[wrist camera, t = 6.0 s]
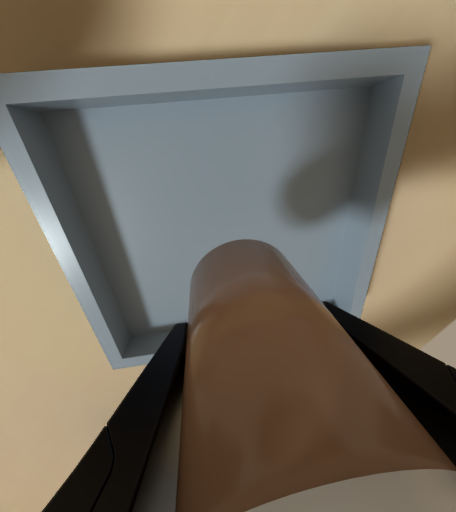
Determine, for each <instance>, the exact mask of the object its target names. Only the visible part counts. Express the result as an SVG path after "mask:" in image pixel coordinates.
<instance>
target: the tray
mask: <svg viewBox="0 0 456 512" xmlns="http://www.w3.org/2000/svg"><path fill="white" fill-rule="evenodd" d="M430 48H431V45H425V46H409V47H394V48H379V49H364V50H349V51H333V52H318V53H303V54H288V55H273V56H258V57H242V58H227V59H212V60H197V61H182V62H166V63H151V64H136V65H121V66H106V67H91V68H75V69H60V70H45V71H30V72H15V73H0V147H1V149H2V151H3V153H4V155H5V157H6V159H7V161H8V163H9V165H10V167H11V169H12V171H13V173H14V175H15V177H16V179H17V181H18V183H19V185H20V187H21V189H22V191H23V193H24V194H25V196H26V198H27V200H28V202H29V204H30V206H31V208H32V210H33V212H34V214H35V216H36V218H37V220H38V222H39V224H40V226H41V228H42V230H43V232H44V234H45V236H46V238H47V240H48V242H49V244H50V246H51V248H52V250H53V252H54V254H55V256H56V258H57V260H58V262H59V264H60V266H61V268H62V270H63V272H64V274H65V276H66V278H67V279H68V281H69V283H70V285H71V287H72V289H73V291H74V293H75V295H76V297H77V299H78V301H79V303H80V305H81V307H82V309H83V311H84V313H85V315H86V317H87V319H88V321H89V323H90V325H91V327H92V329H93V331H94V333H95V335H96V337H97V339H98V341H99V343H100V345H101V347H102V349H103V351H104V353H105V355H106V357H107V359H108V361H109V363H110V364H111V366H112V368H113V370H114V369H120V368H126V367H133V366H139V365H145V364H148V363H149V361H150V360H151V358H152V357H153V356H154V354H155V353H156V351H157V350H158V348H159V347H160V345H161V344H162V343H163V341H164V340H165V338H166V337H167V335H168V334H169V332H170V331H171V329H172V328H173V327H174V325H175V324H177V323H183V322H187V323H188V310H189V295H190V282H191V277H192V274H193V271H194V269H195V268H196V266H197V264H198V263H199V262H200V260H201V259H202V258H203V257H204V256H205V255H206V254H207V253H209V252H210V251H211V250H213V249H214V248H216V247H218V246H220V245H222V244H224V243H227V242H230V241H234V240H241V239H252V240H259V241H263V242H266V243H268V244H270V245H272V246H274V247H275V248H277V249H278V250H279V251H280V252H281V253H283V255H284V256H285V257H286V258H287V260H288V261H289V262H290V263H291V264H292V266H293V267H294V268H295V269H296V271H297V272H298V273H299V274H300V276H301V277H302V278H303V279H304V280H305V282H306V283H307V284H308V285H309V287H310V288H311V289H312V290H313V292H314V293H315V294H316V295H317V296H318V298H319V299H320V300H321V301H322V302H323V301H327V302H329V303H331V304H333V305H335V306H337V307H338V308H340V309H342V310H344V311H346V312H348V313H350V314H352V315H354V316H356V317H358V318H359V319H360V317H361V313H362V310H363V306H364V302H365V298H366V294H367V290H368V286H369V283H370V279H371V275H372V271H373V267H374V263H375V260H376V256H377V252H378V248H379V244H380V240H381V236H382V233H383V229H384V225H385V221H386V217H387V213H388V210H389V206H390V202H391V198H392V194H393V190H394V186H395V183H396V179H397V175H398V171H399V167H400V163H401V160H402V156H403V152H404V148H405V144H406V140H407V137H408V133H409V129H410V125H411V121H412V117H413V113H414V110H415V106H416V102H417V98H418V94H419V90H420V87H421V83H422V79H423V75H424V71H425V67H426V63H427V60H428V56H429V52H430Z"/></svg>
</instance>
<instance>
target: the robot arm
mask: <svg viewBox="0 0 456 512" xmlns="http://www.w3.org/2000/svg"><path fill="white" fill-rule="evenodd" d="M322 303H323V304H324V305H325V306H326V308H327V309H328V310H329V311H330V313H331V314H332V315H333V316H334V317H335V319H336V320H337V321H338V322H339V324H340V325H341V326H342V327H343V329H344V330H345V331H346V332H347V333H348V335H349V336H350V337H351V338H352V340H353V341H354V342H355V343H356V345H357V346H358V347H359V348H360V350H361V351H362V352H363V353H364V354H365V356H366V357H367V358H368V359H369V361H370V362H371V363H372V364H373V366H374V367H375V368H376V369H377V370H378V372H379V373H380V374H381V375H382V377H383V378H384V379H385V380H386V382H387V383H388V384H389V385H390V387H391V388H392V389H393V390H394V391H395V393H396V394H397V395H398V396H399V398H400V399H401V400H402V401H403V403H404V404H405V405H406V406H407V407H408V409H409V410H410V411H411V412H412V414H413V415H414V416H415V417H416V419H417V420H418V421H419V422H420V424H421V425H422V426H423V427H424V428H425V430H426V431H427V432H428V433H429V435H430V436H431V437H432V438H433V440H434V441H435V442H436V443H437V444H438V446H439V447H440V448H441V449H442V451H443V452H444V453H445V454H446V456H447V457H448V458H449V459H450V461H451V462H452V463H453V464H454V465H455V467H456V369H455V368H453V367H451V366H449V365H446V364H445V363H443V362H442V361H440V360H438V359H436V358H434V357H432V356H430V355H428V354H426V353H424V352H423V351H421V350H419V349H417V348H415V347H413V346H411V345H409V344H407V343H405V342H403V341H402V340H400V339H398V338H396V337H394V336H392V335H390V334H388V333H386V332H384V331H382V330H381V329H379V328H377V327H375V326H373V325H371V324H369V323H367V322H365V321H363V320H361V319H359V318H358V317H356V316H354V315H352V314H350V313H348V312H346V311H344V310H342V309H340V308H338V307H337V306H335V305H333V304H331V303H329V302H327V301H323V302H322ZM187 325H188V323H187V322H183V323H177V324H175V325H174V327H173V328H172V329H171V331H170V332H169V334H168V335H167V337H166V338H165V340H164V341H163V343H162V344H161V345H160V347H159V348H158V350H157V351H156V353H155V354H154V356H153V357H152V358H151V360H150V361H149V363H148V364H147V366H146V367H145V369H144V370H143V372H142V373H141V374H140V376H139V377H138V379H137V380H136V382H135V383H134V385H133V386H132V388H131V389H130V390H129V392H128V393H127V395H126V396H125V398H124V399H123V401H122V402H121V403H120V405H119V406H118V408H117V409H116V411H115V412H114V414H113V415H112V417H111V418H110V419H109V421H108V422H107V426H105V427H104V428H103V429H102V431H101V432H100V434H99V435H98V437H97V438H96V440H95V441H94V442H93V444H92V445H91V447H90V448H89V449H88V451H87V452H86V454H85V455H84V456H83V458H82V459H81V461H80V462H79V463H78V465H77V466H76V468H75V469H74V470H73V472H72V473H71V474H70V476H69V477H68V478H67V479H66V481H65V482H64V483H63V485H62V486H61V487H60V489H59V490H58V491H57V492H56V494H55V495H54V496H53V498H52V499H51V500H50V502H49V503H48V504H47V505H46V507H45V508H44V509H43V511H42V512H175V507H176V492H177V477H178V462H179V447H180V432H181V416H182V401H183V386H184V371H185V356H186V340H187Z"/></svg>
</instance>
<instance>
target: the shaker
mask: <svg viewBox="0 0 456 512" xmlns="http://www.w3.org/2000/svg"><path fill="white" fill-rule="evenodd" d="M175 512H456V467H455V465H454V464H453V463H452V462H451V461H450V459H449V458H448V457H447V456H446V454H445V453H444V452H443V451H442V449H441V448H440V447H439V446H438V444H437V443H436V442H435V441H434V440H433V438H432V437H431V436H430V435H429V433H428V432H427V431H426V430H425V428H424V427H423V426H422V425H421V424H420V422H419V421H418V420H417V419H416V417H415V416H414V415H413V414H412V412H411V411H410V410H409V409H408V407H407V406H406V405H405V404H404V403H403V401H402V400H401V399H400V398H399V396H398V395H397V394H396V393H395V391H394V390H393V389H392V388H391V387H390V385H389V384H388V383H387V382H386V380H385V379H384V378H383V377H382V375H381V374H380V373H379V372H378V370H377V369H376V368H375V367H374V366H373V364H372V363H371V362H370V361H369V359H368V358H367V357H366V356H365V354H364V353H363V352H362V351H361V350H360V348H359V347H358V346H357V345H356V343H355V342H354V341H353V340H352V338H351V337H350V336H349V335H348V333H347V332H346V331H345V330H344V329H343V327H342V326H341V325H340V324H339V322H338V321H337V320H336V319H335V317H334V316H333V315H332V314H331V313H330V311H329V310H328V309H327V308H326V306H325V305H324V304H323V303H322V301H321V300H320V299H319V298H318V296H317V295H316V294H315V293H314V292H313V290H312V289H311V288H310V287H309V285H308V284H307V283H306V282H305V280H304V279H303V278H302V277H301V276H300V274H299V273H298V272H297V271H296V269H295V268H294V267H293V266H292V264H291V263H290V262H289V261H288V260H287V258H286V257H285V256H284V255H283V253H281V252H280V251H279V250H278V249H277V248H275V247H274V246H272V245H270V244H268V243H266V242H263V241H259V240H252V239H241V240H234V241H230V242H227V243H224V244H222V245H220V246H218V247H216V248H214V249H213V250H211V251H210V252H209V253H207V254H206V255H205V256H204V257H203V258H202V259H201V260H200V262H199V263H198V264H197V266H196V268H195V269H194V271H193V274H192V277H191V282H190V295H189V310H188V325H187V340H186V356H185V371H184V386H183V401H182V416H181V432H180V447H179V462H178V477H177V492H176V507H175Z"/></svg>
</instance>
